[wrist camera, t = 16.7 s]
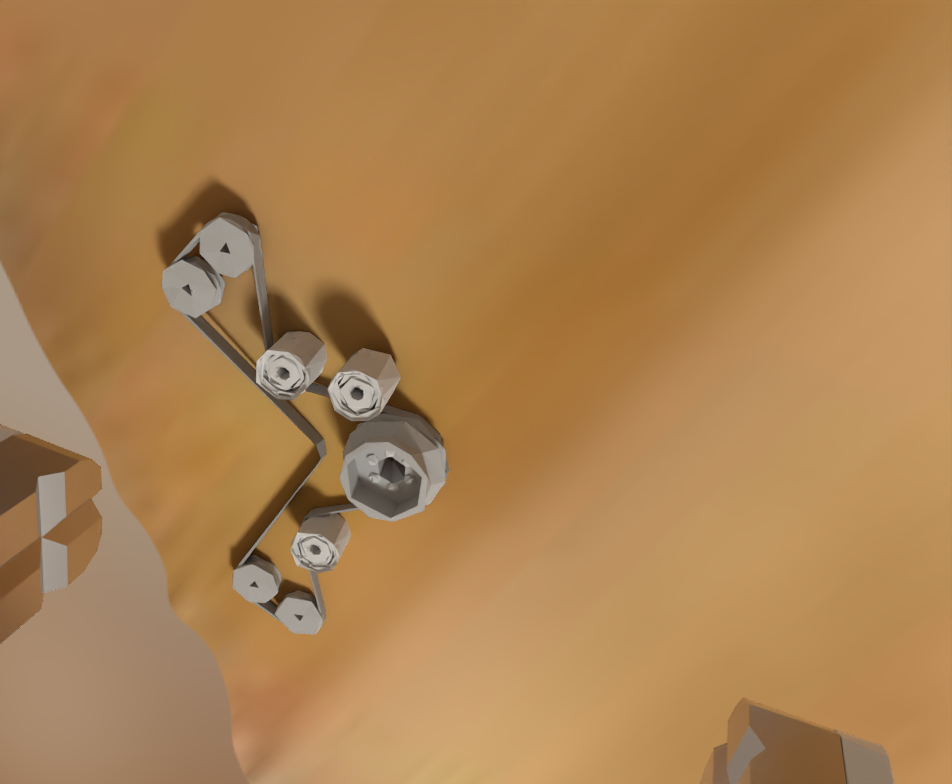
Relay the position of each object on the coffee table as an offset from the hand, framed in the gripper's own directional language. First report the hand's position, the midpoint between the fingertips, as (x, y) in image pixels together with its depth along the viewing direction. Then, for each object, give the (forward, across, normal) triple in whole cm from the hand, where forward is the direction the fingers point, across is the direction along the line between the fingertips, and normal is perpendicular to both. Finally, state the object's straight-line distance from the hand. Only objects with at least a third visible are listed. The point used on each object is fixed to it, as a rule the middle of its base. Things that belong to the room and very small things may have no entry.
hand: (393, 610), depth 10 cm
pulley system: (+32, +13, +20) cm, 40 cm away
